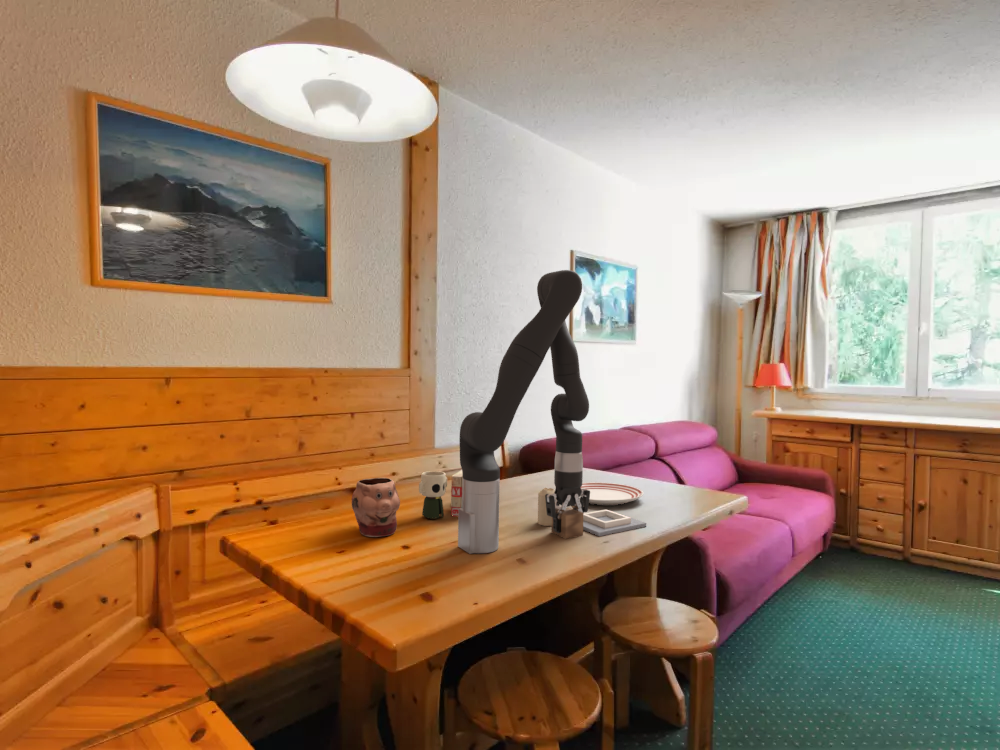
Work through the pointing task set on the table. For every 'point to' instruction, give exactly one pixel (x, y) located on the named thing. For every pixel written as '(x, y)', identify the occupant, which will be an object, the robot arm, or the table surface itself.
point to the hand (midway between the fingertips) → (567, 529)
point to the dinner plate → (611, 493)
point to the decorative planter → (376, 506)
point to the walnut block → (570, 523)
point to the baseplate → (609, 522)
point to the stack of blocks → (456, 493)
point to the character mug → (433, 493)
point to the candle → (544, 507)
